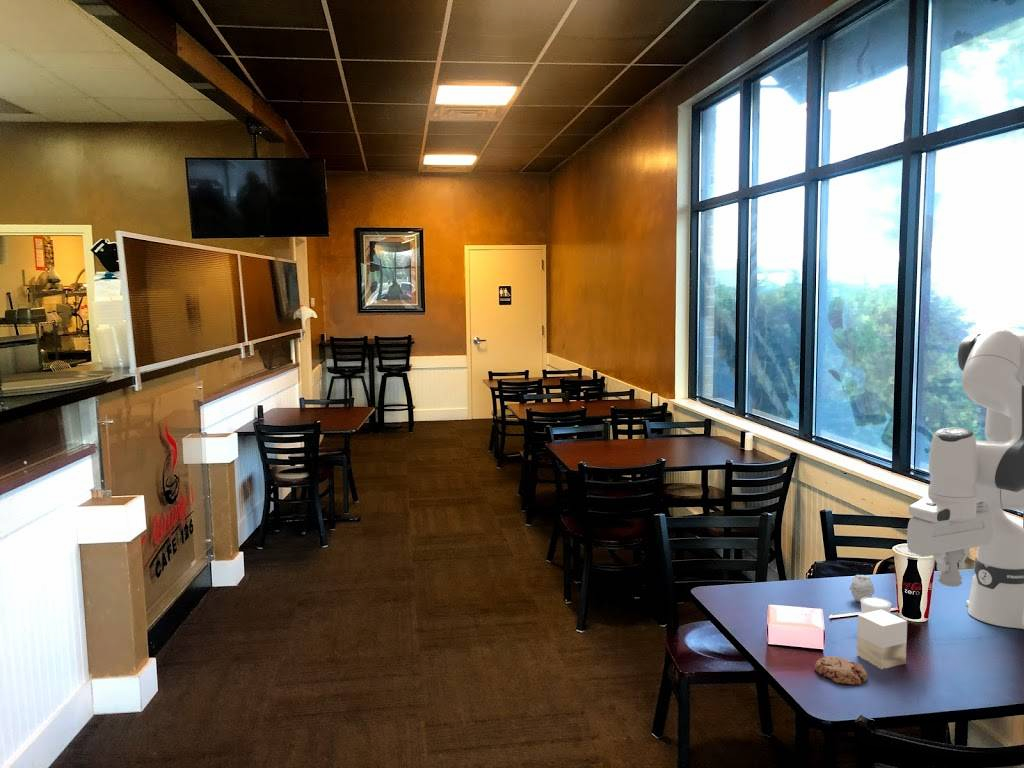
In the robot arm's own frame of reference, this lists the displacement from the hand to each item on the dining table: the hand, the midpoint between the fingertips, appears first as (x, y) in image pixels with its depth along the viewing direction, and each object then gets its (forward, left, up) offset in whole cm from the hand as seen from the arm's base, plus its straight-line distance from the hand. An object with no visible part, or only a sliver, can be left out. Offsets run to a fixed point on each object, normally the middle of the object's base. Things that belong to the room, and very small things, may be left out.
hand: (950, 569), depth 160 cm
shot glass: (-4, -24, -24) cm, 34 cm away
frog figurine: (-14, -39, -24) cm, 48 cm away
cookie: (+20, -9, -24) cm, 33 cm away
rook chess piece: (0, 0, -3) cm, 3 cm away
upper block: (+7, -11, -19) cm, 23 cm away
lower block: (+7, -11, -24) cm, 27 cm away
